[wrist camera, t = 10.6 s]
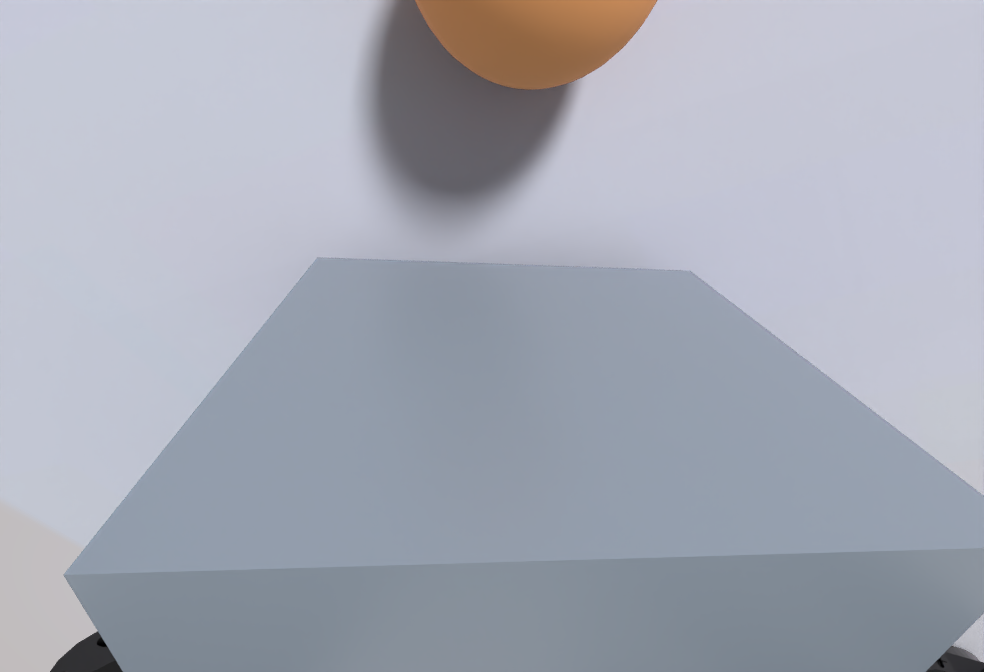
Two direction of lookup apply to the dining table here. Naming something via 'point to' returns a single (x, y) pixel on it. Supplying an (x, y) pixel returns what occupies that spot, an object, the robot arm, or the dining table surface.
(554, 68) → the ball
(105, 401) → the dining table surface
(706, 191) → the dining table surface
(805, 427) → the matte gray-blue box
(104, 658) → the robot arm
